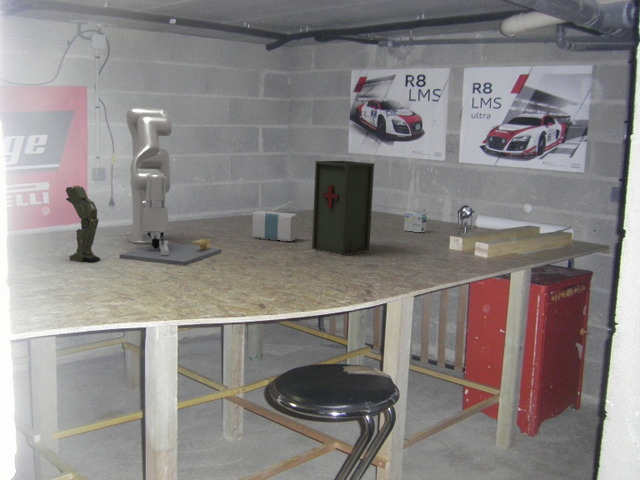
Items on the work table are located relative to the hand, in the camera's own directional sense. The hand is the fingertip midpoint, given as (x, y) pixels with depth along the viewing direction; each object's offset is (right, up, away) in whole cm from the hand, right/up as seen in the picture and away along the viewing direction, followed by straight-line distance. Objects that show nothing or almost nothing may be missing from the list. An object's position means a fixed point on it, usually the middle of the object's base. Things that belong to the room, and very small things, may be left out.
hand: (155, 248), depth 281 cm
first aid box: (+77, -2, +27) cm, 82 cm away
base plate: (+7, -3, 0) cm, 8 cm away
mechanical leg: (-24, -5, -17) cm, 30 cm away
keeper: (+18, -1, +6) cm, 19 cm away
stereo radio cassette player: (+46, +3, +49) cm, 67 cm away
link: (+3, -1, +1) cm, 3 cm away
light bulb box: (+120, +8, +94) cm, 153 cm away
